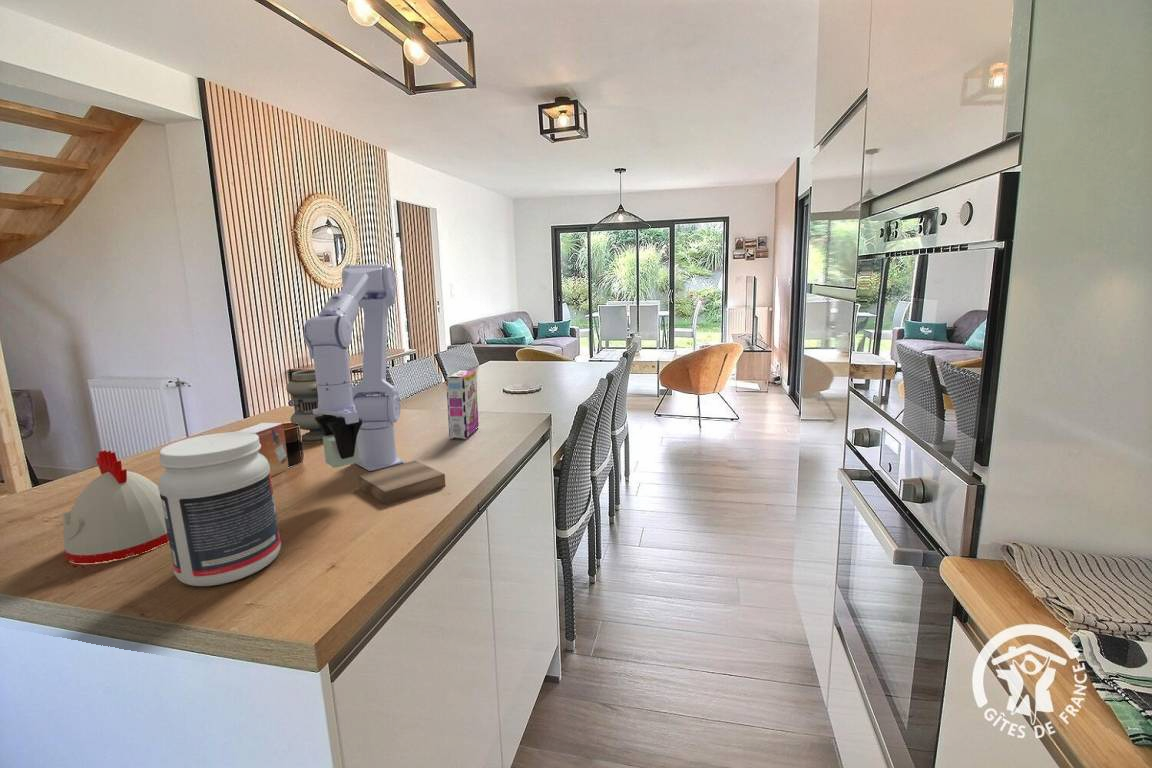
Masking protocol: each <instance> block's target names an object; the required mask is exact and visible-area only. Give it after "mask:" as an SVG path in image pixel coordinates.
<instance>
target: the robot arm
mask: <svg viewBox="0 0 1152 768" xmlns="http://www.w3.org/2000/svg"><path fill="white" fill-rule="evenodd" d="M341 271H342V272H341V280H342V287H341V289H340V292H337V293H335V292H334V293H332V295H330V297H329V298H328V300H327V301H326V303H325V304H324V306H323V308H322V309H321V310H320V312H319V314H318V315H316V316H311V317H310V318H309V319H307V320H306V321H305V323H304V327H303V340H304V342H305V345H306V347H307V349H308V354H309V357H310V358H311V359H313V366H314V368H313V369H315V376H316V384H317V392H318V400H319V401H318V408H317V409H313V413H314V414H323V415H322V416H317V417H315V420H316V422H317V423H318V424H319V426H320V427H321V429H322V431H323V433H324V435H325V436H329V435H334V438H335V440H336V444H337V448H338V451H339V455H340V457H341V458H342V459H345V458H349V457H353V456H354V452H355V445H356V438H357V445H358V454H359V462H357V463H355V464H356V465H358V466H359V467H361V468H363V469H365V470H366V471H367V472H374V471H378V470H382V469H385V468H389V467H393V466H396V465H400V464H404V463H405V460H404V459H402V458H400V457H397V448H396V437H395V427H394V424H397V421H398V420H399V419H400V417H401V402H400V394H399V393H400V392H399V390H398V389H397V387H396V386H394V385H392V384H391V383H390V382H388V381H387V356H388V355H387V352H388V351H387V349H388V346H387V345H388V317H389V308H390V307H392V306H393V305H394V304H396V295H397V280H396V274H395V270H394V268H393V267H392V266H391V264H390V263H388V262H387V263H383V264H382V263H381V264H379V263H378V264H377V263H376V264H350V263H349V264H345V265H344V267H343V268H342V270H341ZM360 308H361V309H363V312H364V318H363V320H364V321H363V322H364V323H363V346H362V348H363V351H362V353H363V354H362V380H360V382H359V383H358V384H356V385H355V386H354V387H353V386H352V379H351V377H352V376H351V369H350V361H349V360H350V359H349V351H348V347H349V346H351V343H352V338H353V330H354V327H353V324H354V322H355V321H356V319H357V317H358V315H359V314H360Z"/></svg>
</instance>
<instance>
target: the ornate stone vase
mask: <svg viewBox="0 0 1152 768" xmlns="http://www.w3.org/2000/svg"><path fill="white" fill-rule="evenodd" d="M286 392H287V393H288V394H290V396H292V399H293V401H292V402H293V407H294V413H293V414H291V417H290V423H291V424H292V423H297V424H298V425H299V426H300V429H299V430H304V431H308V432H305V433H303V434H302V435H301V436H300V437H302V444H316V443H323V437H324V436H325V435H324V433H323V431H322V429H321V427H320V426H319V424H318V423H317V422H316V420H315V417H317V416H322V415H323V414H314V413H313V409H317V408H318V401H319V400H318V392H317V384H316V376H315V368H312V369H304V370H299V371H294V372H292V373H291V380H290V381H289V382H288V383H287V385H286Z"/></svg>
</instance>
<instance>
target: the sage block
mask: <svg viewBox="0 0 1152 768" xmlns="http://www.w3.org/2000/svg"><path fill="white" fill-rule="evenodd" d="M322 443H323V451H324V458H325V463H326V464H328V465H329V466H331V467H332V468H333V469H337V468H340V467H344V466H349V465H353V464H356V463H357V462H359V454H358V445H357V438H356V445H355V452H354V456H353V457H349V458H345V459H342V458H341V457H340V455H339V451H338V448H337V444H336V440H335V438H334V435H329V436H324V437H323V442H322Z"/></svg>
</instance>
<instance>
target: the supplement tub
mask: <svg viewBox="0 0 1152 768" xmlns="http://www.w3.org/2000/svg"><path fill="white" fill-rule="evenodd" d="M260 448H261V444H260V442H259V436H258V435H257V434H254V433H250V432H235V431H232V432H231V431H230V432H220V433H212V434H211V433H210V434H206V435H200V436H195V437H191V438H186V439H182V440H179V441H177V442H173V443H170V444H168V445H165V446H164V447H162V448H161V449H160V451H159V459H160V460H159V465H160V466H161V467H162V468H163V467H164V468H165V470H164V471H163V472H162V473H161V474H160V476H159V479H158V482H157V484H158V485H157V486H158V490H159V492H160V498H161V503H162V508H163V513H164V518H165V523H166V529H167V534H168V539H169V543H168V545H169V550H170V555H171V559H172V565H173V573H174V575H175V577H176V578H177V579H178V581H180V582H181V583H184V584H185V585H189V586H193V587H211V586H218V585H224V584H229V583H231V582H235V581H239V580H241V579H243V578H246V577H249V576H251V575H253V574H255V573H257V572H259V571H261V570H263V569H265V567H268V565H270V564H271V563H272V562H273V561H275V559H276V558H277V556H278V555H279V554H280V551H281V546H282V541H281V537H280V535H281V534H280V529H279V524H278V523H279V522H278V517H277V515H278V514H277V509H276V504H275V503H276V502H275V496H274V489H273V481H272V477H271V474H270V465H269V463H268V460H267V459H266V458H265V457H264V456H263V455H262V454H260V453H259V452H258V450H259V449H260Z"/></svg>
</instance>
